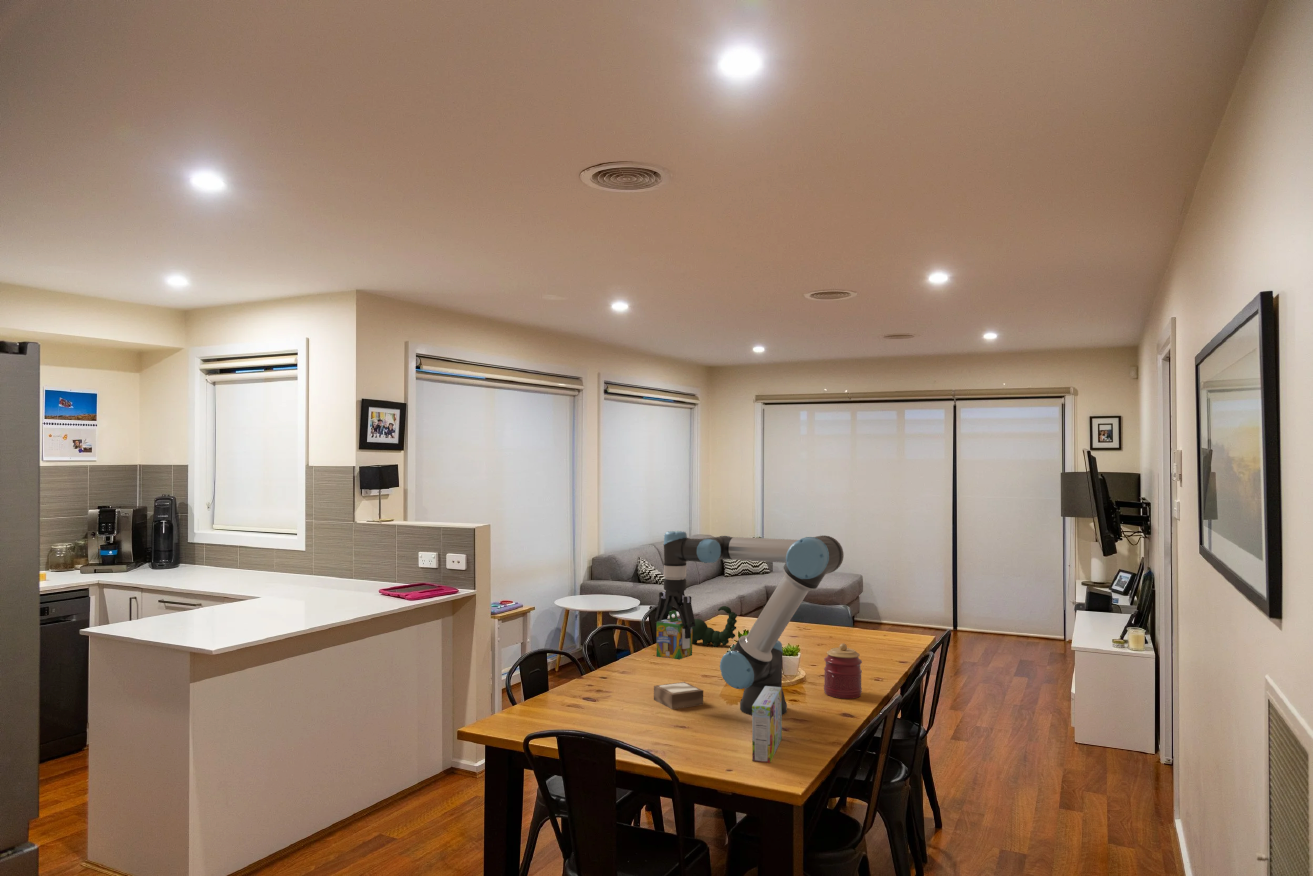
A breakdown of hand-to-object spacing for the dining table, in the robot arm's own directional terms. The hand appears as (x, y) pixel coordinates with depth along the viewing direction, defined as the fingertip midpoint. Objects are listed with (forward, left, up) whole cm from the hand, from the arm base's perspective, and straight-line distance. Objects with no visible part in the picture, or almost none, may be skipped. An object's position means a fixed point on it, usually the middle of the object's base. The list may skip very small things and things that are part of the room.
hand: (674, 645), depth 271 cm
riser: (+2, -3, -20) cm, 20 cm away
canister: (-21, -58, -20) cm, 65 cm away
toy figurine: (+65, -68, -20) cm, 96 cm away
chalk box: (0, 0, -4) cm, 4 cm away
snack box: (-48, +4, -20) cm, 52 cm away
